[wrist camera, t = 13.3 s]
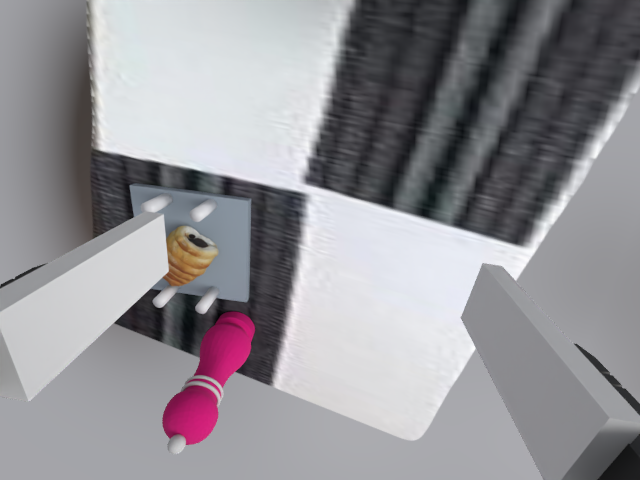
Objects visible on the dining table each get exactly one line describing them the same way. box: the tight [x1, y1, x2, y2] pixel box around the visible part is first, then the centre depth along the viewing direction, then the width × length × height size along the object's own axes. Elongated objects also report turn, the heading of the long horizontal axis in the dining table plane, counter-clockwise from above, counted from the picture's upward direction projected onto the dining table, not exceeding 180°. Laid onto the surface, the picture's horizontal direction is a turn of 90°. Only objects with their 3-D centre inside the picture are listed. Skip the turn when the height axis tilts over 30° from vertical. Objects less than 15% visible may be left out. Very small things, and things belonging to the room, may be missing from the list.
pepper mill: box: [163, 311, 255, 454], centre depth 41 cm, size 7×7×20 cm
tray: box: [130, 183, 251, 314], centre depth 42 cm, size 16×16×6 cm
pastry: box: [162, 226, 219, 286], centre depth 42 cm, size 9×7×4 cm
